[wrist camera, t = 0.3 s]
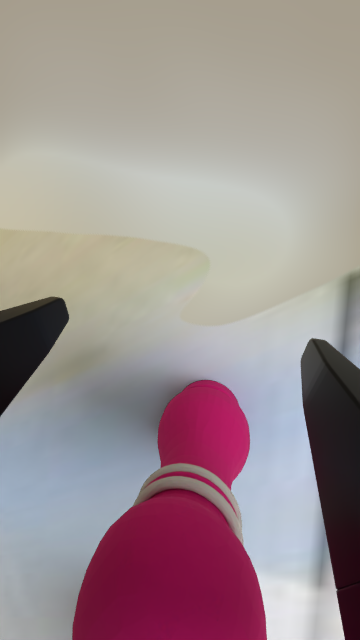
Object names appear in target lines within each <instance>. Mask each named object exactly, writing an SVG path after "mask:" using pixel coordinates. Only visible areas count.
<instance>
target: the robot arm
mask: <svg viewBox="0 0 360 640" xmlns="http://www.w3.org/2000/svg"><path fill="white" fill-rule="evenodd" d="M68 320H69V314H68V311H67V308H66V304H65V301H64V300H63V299H62V298H58V297H49V298H45V299H41V300H38V301H34V302H31V303H27V304H24V305H20V306H17V307H13V308H9V309H6V310H2V311H0V416H1V415H2V414H3V412H4V411H5V410H6V408H7V407H8V406H9V404H10V403H11V402H12V400H13V399H14V398H15V396H16V395H17V394H18V393H19V391H20V390H21V389H22V387H23V386H24V385H25V383H26V382H27V381H28V379H29V378H30V377H31V375H32V374H33V373H34V372H35V370H36V369H37V368H38V366H39V365H40V364H41V362H42V361H43V360H44V358H45V357H46V356H47V354H48V353H49V352H50V350H51V348H52V347H53V345H54V344H55V342H56V340H57V339H58V337H59V336H60V334H61V332H62V331H63V329H64V327H65V326H66V324H67V322H68ZM301 379H302V399H303V408H304V415H305V420H306V426H307V431H308V437H309V442H310V448H311V453H312V459H313V464H314V470H315V475H316V481H317V486H318V492H319V497H320V503H321V508H322V514H323V519H324V525H325V530H326V536H327V542H328V547H329V553H330V558H331V564H332V569H333V575H334V580H335V586H336V589H337V591H336V592H337V598H338V603H339V609H340V614H341V620H342V625H343V631H344V636H345V640H360V369H359V368H358V367H356V366H355V365H354V364H353V363H352V362H350V361H349V360H348V359H347V358H346V357H344V356H343V355H342V354H341V353H340V352H339V351H337V350H336V349H335V348H334V347H333V346H331V345H330V344H329V343H328V342H327V341H325V340H320V339H314V338H312V339H310V340H309V342H308V344H307V346H306V348H305V351H304V353H303V355H302V358H301Z"/></svg>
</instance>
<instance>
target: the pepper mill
mask: <svg viewBox="0 0 360 640" xmlns="http://www.w3.org/2000/svg"><path fill="white" fill-rule="evenodd" d="M249 447H250V434H249V426H248V423H247V420H246V417H245V415H244V413H243V411H242V410H241V408H240V407H239V404H238V401H237V399H236V398H235V396H234V394H233V393H232V392H231V391H230V390H229V389H228V388H227V387H225V386H224V385H222V384H220V383H218V382H215V381H210V380H201V381H196V382H194V383H192V384H190V385H188V386H187V387H186V388H185V389H184V390H183V391H182V392H181V393H179V394H178V395H176V396H175V397H174V398H173V399H172V400H171V401H170V402H169V403H168V405H167V407H166V408H165V410H164V413H163V415H162V418H161V420H160V423H159V428H158V449H159V454H160V460H161V468H160V469H158V470H157V471H156V472H154V473H153V474H152V475H150V477H149V478H148V479H147V480H146V481H145V483H144V484H143V486H142V488H141V490H140V493H139V496H138V497H137V499H136V500H135V503H134V505H133V507H131V508H130V509H129V510H128V511H127V512H126V513H125V514H123V515H122V516H121V517H120V518H119V519H118V520H117V521H116V522H115V523H114V524H113V525H112V526H111V527H110V528H109V529H108V531H107V532H106V534H105V535H104V537H103V538H102V540H101V541H100V543H99V545H98V547H97V549H96V551H95V553H94V555H93V557H92V560H91V562H90V564H89V566H88V568H87V570H86V574H85V577H84V580H83V583H82V586H81V589H80V592H79V596H78V601H77V606H76V611H75V617H74V622H73V635H72V640H267V635H266V618H265V611H264V605H263V600H262V594H261V590H260V586H259V582H258V578H257V575H256V572H255V570H254V567H253V565H252V562H251V560H250V558H249V556H248V554H247V552H246V551H245V549H244V547H243V536H242V520H241V513H240V510H239V506H238V503H237V501H236V499H235V497H234V495H233V494H232V492H231V484H232V482H233V480H234V479H235V478H236V477H237V476H238V474H239V473H240V472H241V470H242V468H243V466H244V464H245V462H246V459H247V457H248V453H249Z"/></svg>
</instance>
